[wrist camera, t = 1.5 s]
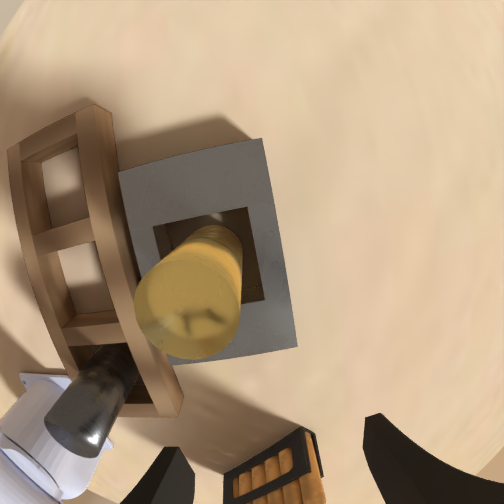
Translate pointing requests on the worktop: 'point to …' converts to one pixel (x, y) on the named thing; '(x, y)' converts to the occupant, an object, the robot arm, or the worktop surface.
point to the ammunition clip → (279, 474)
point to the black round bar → (93, 401)
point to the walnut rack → (109, 249)
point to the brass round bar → (193, 295)
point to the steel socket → (207, 202)
